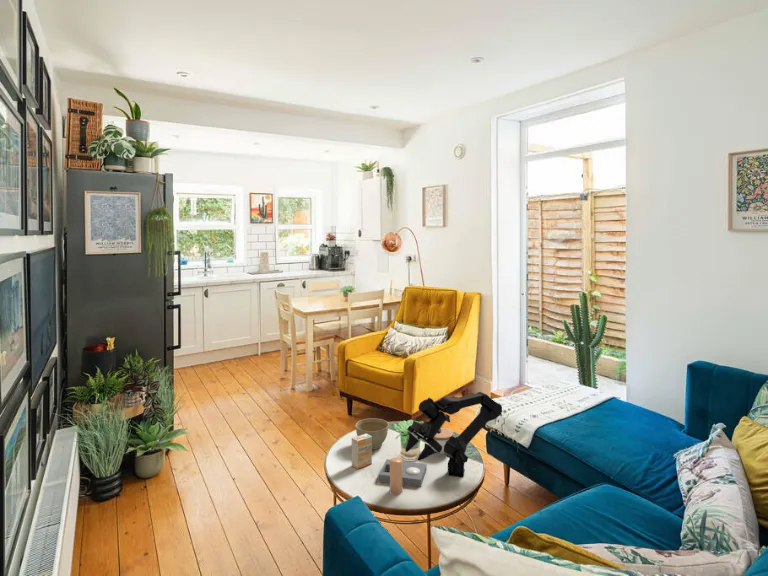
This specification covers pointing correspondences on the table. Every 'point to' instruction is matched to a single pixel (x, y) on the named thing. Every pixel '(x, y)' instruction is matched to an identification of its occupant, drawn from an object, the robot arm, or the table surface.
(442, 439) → the lidded bowl
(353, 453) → the supplement box
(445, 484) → the table surface
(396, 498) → the table surface
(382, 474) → the plate
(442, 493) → the table surface
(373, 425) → the planter bowl
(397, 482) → the cylinder
